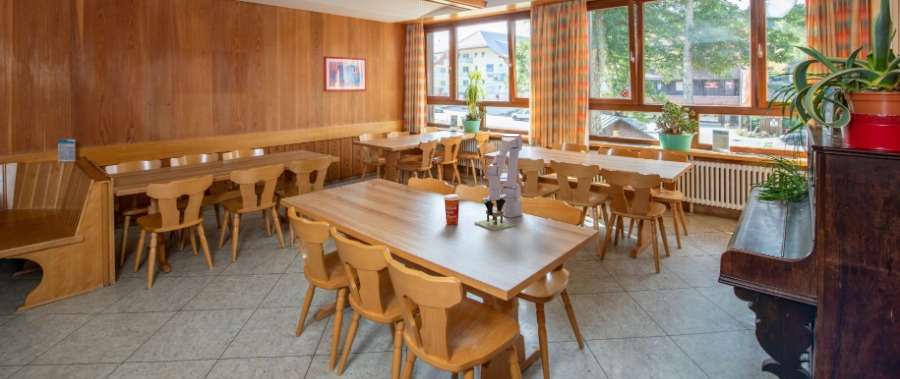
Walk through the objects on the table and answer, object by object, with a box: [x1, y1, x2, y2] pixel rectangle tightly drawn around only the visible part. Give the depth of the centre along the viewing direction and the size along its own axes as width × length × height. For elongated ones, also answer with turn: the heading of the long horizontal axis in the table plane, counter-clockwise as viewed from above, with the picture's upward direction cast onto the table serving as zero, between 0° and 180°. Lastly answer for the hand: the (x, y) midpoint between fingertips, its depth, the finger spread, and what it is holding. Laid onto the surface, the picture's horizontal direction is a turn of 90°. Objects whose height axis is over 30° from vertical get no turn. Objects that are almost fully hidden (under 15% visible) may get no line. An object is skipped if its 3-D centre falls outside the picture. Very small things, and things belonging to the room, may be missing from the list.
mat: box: [474, 217, 517, 232], centre depth 245 cm, size 14×16×1 cm
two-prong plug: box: [485, 208, 505, 225], centre depth 244 cm, size 8×5×6 cm, turn 33°
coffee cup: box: [443, 193, 461, 226], centre depth 247 cm, size 8×8×15 cm
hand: (494, 214), depth 244 cm, fingers closed on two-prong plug, 5 cm apart
